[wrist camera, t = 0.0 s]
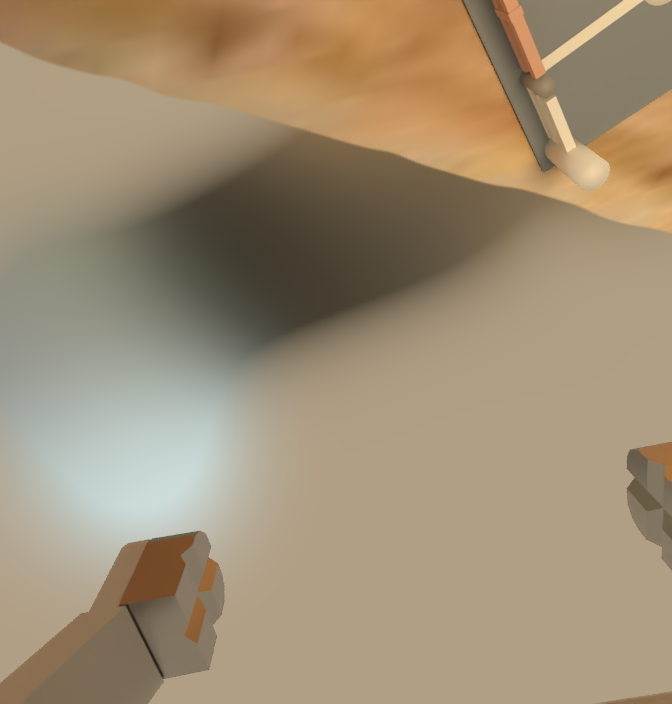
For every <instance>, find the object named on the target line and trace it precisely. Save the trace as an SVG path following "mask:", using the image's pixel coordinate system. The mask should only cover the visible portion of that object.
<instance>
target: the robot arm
mask: <svg viewBox="0 0 672 704" xmlns="http://www.w3.org/2000/svg"><path fill="white" fill-rule="evenodd" d="M627 469H628V470H629V471H630V473H631V474H632V475H633V476H634V477H635V478H634V480H633V481H632V482H631V483H630V485H629V486H628V488H627V499H628V506H629V509H630V512H631V515H632V518H633V520H634V522H635V524H636V525H637V527H638V529H639V530H640V532H641V533H642V534H643V536H644V537H645V538H646V539H647V540H649V541H651V542H653V543H655V544H657V545H659V546H662V559H663V560H664V562H665V563H666V564H667V565H668V566H669V568H670V569H671V570H672V442H667V443H662V444H657V445H652V446H647V447H642V448H636V449H632V450H630V451H629V453H628V456H627ZM210 549H211V545H210V543H209V540H208V538H207V536H206V534H205V533H204V532H202V531H196V532H190V533H184V534H178V535H172V536H166V537H159V538H154V539H152V540H144V541H138V542H132V543H128V544H127V545H125V546H124V547H123V548H122V549H121V551H120V553H119V555H118V557H117V559H116V560H115V562H114V565H113V566H112V568H111V570H110V572H109V574H108V576H107V578H106V580H105V582H104V584H103V586H102V588H101V590H100V592H99V593H98V595H97V597H96V599H95V601H94V603H93V605H92V607H91V609H90V611H89V612H87V613H81V614H80V615H79V616H78V617H76V618H75V619H74V620H73V621H72V622H71V623H70V624H68V625H67V626H66V627H65V628H64V629H63V630H61V631H60V632H59V633H58V634H57V635H56V636H55V637H54V638H52V639H51V640H50V641H49V642H47V643H46V644H45V645H44V646H43V647H42V648H41V649H39V650H38V651H37V652H36V653H35V654H34V655H32V656H31V657H30V658H29V659H28V660H27V661H25V662H24V663H23V664H22V665H21V666H20V667H18V668H17V669H16V670H15V671H14V672H13V673H12V674H10V675H9V676H8V677H7V678H6V679H5V680H3V681H2V682H1V683H0V704H148V703H149V701H150V700H151V699H152V697H153V696H154V695H155V693H156V692H157V690H158V689H159V688H160V686H161V685H162V684H163V682H164V681H163V679H166V678H170V677H176V676H181V675H186V674H190V673H195V672H200V671H205V670H209V668H210V664H211V659H212V655H213V651H214V646H215V642H216V638H217V635H216V633H215V630H214V628H213V626H212V625H213V624H214V623H215V622H216V621H217V620H218V618H219V617H220V616H221V615H222V610H223V605H224V582H223V577H222V573H221V570H220V567H219V565H218V563H216V562H215V561H213V560H212V559H210V558H209V557H208V556H209V552H210ZM595 704H672V692H665V693H659V694H652V695H646V696H640V697H634V698H627V699H621V700H615V701H608V702H602V703H595Z"/></svg>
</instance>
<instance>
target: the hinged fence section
mask: <svg viewBox="0 0 672 704" xmlns="http://www.w3.org/2000/svg"><path fill="white" fill-rule="evenodd" d="M492 2H493V4H494V7H495V8H494V10H495V13H496V15H497V17H499V18H500V21H501V23H502V25H503V27H504V30H505V32H506V34H507V37H508V39H509V41H510V44H511V46H512V48H513V50H514V53H515V55H516V57H517V60H518V62H519V64H520V67H521V69H522V71H524V72H526V73H527V72H529V71H530V74H531V76H532V77H533V78H535V79H538V78H539V77H541V76H542V75H543V74H545V73H546V70H545V68H544V65H543V63H542V61H541V58H540V56H539V53H538V51H537V48H536V46H535V43H534V41H533V38H532V36H531V33H530V31H529V28H528V26H527V24H526V21H525V19H524V16H523V14H524V12H523V9H522V7H521V5H520V4H518V1H517V0H492Z"/></svg>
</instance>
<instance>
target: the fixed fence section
mask: <svg viewBox="0 0 672 704" xmlns="http://www.w3.org/2000/svg"><path fill="white" fill-rule="evenodd" d="M520 82H521V84H522V85H524V86H525V87H527V88H528V89H529V90H531V91H532V94H533V97H534V99H535V101H536V103H537V106H538V108H539V110H540V113H541V115H542V117H543V120H544V122H545V124H546V126H547V129H548V131H549V133H550V136H551V138H550V139H549V140H548V141H547V143H546V145H545V155H546V157H547V158H548V159H549V160H550V161H551V162H552V163H553V164H555V165H556V166H557V167H558V168H559V169H560V170H561V171H562V172H563V173H565V174H566V175H567V176H568V177H569V178H570V179H571V180H572V181H573V182H575V183H576V184H577V185H578V186H579V187H580V188H581V189H583V190H586V191H590V190H594V189H597V188H598V187H600V186H601V185H602V184H603V183H604V182H605V181H606V180H607V178H608V176H609V173H610V166H609V164H608V163H607V162H606V161H605V160H604V159H602V158H601V157H600V156H598V155H597V154H596V153H594V152H593V151H592V150H590V149H589V148H588V147H586V146H585V145H584V144H582V143H581V142H580V141H578V140H577V139H576V138H574V137H573V136H572V135H571V132H570V130H569V127H568V125H567V122H566V120H565V117H564V115H563V112H562V110H561V107H560V105H559V103H558V100H557V98H556V96H555V95H554V94H553V93H554V92H555V90H556V81H555V80H554V79H553V78H551V77H549V76H548V75H546V74H543V75H542V76H541V77H539V78H538V79H535V78H533V77H532V76H531V74H530V71H529V72H527V73H526V72H524V71H522V73H521V75H520Z"/></svg>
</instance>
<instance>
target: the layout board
mask: <svg viewBox="0 0 672 704" xmlns="http://www.w3.org/2000/svg"><path fill="white" fill-rule="evenodd" d="M517 1H518V4H520V5H521V7H522V9H523V12H524V14H523V16H524V19H525V21H526V24H527V26H528V28H529V31H530V33H531V36H532V38H533V41H534V43H535V46H536V48H537V51H538V53H539V56H540V58H541V61H542V63H543V65H544V68H545V70H546V73H545V74H546V75H548V76H549V77H551V78H553V79H554V80H555V81H556V90H555V92H554V93H553V94H554V95H555V96H556V98H557V100H558V103H559V105H560V107H561V110H562V112H563V115H564V117H565V120H566V122H567V125H568V127H569V130H570V132H571V135H572V136H573V137H574V138H576V139H577V140H578V141H580V142H581V143H582V144H584V145H586V144H588V143H589V142H591V141H592V140H594V139H596V138H597V137H599V136H600V135H602V134H603V133H605V132H606V131H608V130H609V129H611V128H612V127H614V126H615V125H617V124H619V123H620V122H622V121H623V120H625V119H626V118H628V117H629V116H631V115H632V114H634V113H635V112H637V111H638V110H640V109H642V108H643V107H645V106H646V105H648V104H649V103H651V102H652V101H654V100H655V99H657V98H658V97H660V96H661V95H663V94H664V93H666V92H668V91H669V90H671V89H672V0H517ZM463 2H464V4H465V6H466V8H467V11H468V13H469V15H470V17H471V19H472V21H473V23H474V26H475V28H476V30H477V32H478V34H479V36H480V38H481V41H482V43H483V45H484V47H485V49H486V51H487V53H488V56H489V58H490V60H491V62H492V64H493V66H494V68H495V70H496V73H497V75H498V77H499V79H500V81H501V83H502V85H503V88H504V90H505V92H506V94H507V96H508V98H509V100H510V103H511V105H512V107H513V109H514V111H515V113H516V115H517V118H518V120H519V122H520V124H521V126H522V128H523V130H524V133H525V135H526V137H527V139H528V141H529V143H530V145H531V148H532V150H533V152H534V154H535V156H536V158H537V160H538V163H539V165H540V167H541V169H542V171H543V172H545V171H546V170H548V169H550V168H551V167H553V166H554V165H555V164H553V163H552V162H551V161H550V160H549V159H548V158H547V157H546V155H545V145H546V143H547V141H548V140H549V139H550V138H551V136H550V133H549V131H548V129H547V126H546V124H545V122H544V120H543V117H542V115H541V113H540V110H539V108H538V106H537V103H536V101H535V99H534V97H533V94H532V91H531V90H529V89H528V88H527V87H525V86H524V85H522V84H521V82H520V75H521V73H522V69H521V67H520V64H519V62H518V60H517V57H516V55H515V53H514V50H513V48H512V46H511V44H510V41H509V39H508V37H507V34H506V32H505V30H504V27H503V25H502V23H501V21H500V18H499V17H497V15H496V13H495V10H494V8H495V7H494V4H493V2H492V0H463Z"/></svg>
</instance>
